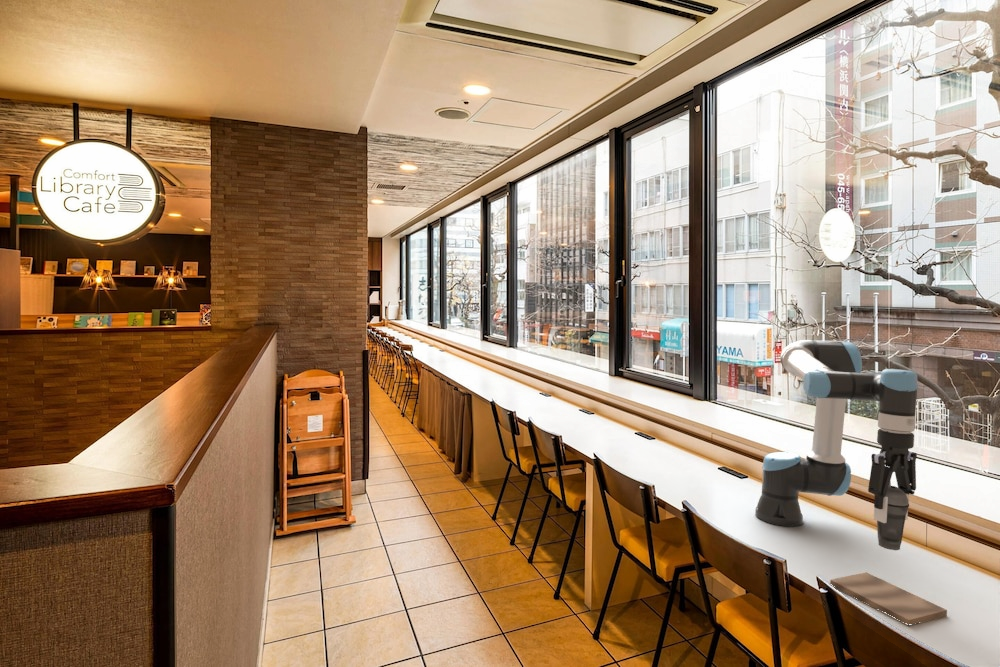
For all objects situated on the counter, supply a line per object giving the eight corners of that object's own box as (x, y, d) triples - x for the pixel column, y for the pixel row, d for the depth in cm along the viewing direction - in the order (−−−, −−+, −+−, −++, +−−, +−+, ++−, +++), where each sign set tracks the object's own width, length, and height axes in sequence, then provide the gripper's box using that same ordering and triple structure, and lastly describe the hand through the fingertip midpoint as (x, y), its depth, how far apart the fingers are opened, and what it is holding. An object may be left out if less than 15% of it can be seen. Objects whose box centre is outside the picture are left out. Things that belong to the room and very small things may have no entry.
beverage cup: (895, 554, 134) (899, 474, 133) (865, 542, 141) (869, 466, 140) (913, 550, 137) (917, 471, 136) (883, 538, 144) (887, 464, 143)
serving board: (830, 585, 146) (830, 579, 146) (866, 577, 151) (866, 572, 151) (908, 626, 128) (908, 620, 128) (946, 616, 133) (947, 610, 133)
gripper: (883, 435, 131) (878, 529, 131) (937, 431, 138) (932, 520, 139) (853, 429, 138) (848, 518, 138) (906, 425, 145) (901, 510, 146)
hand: (890, 519), depth 139 cm, fingers closed on beverage cup, 7 cm apart
